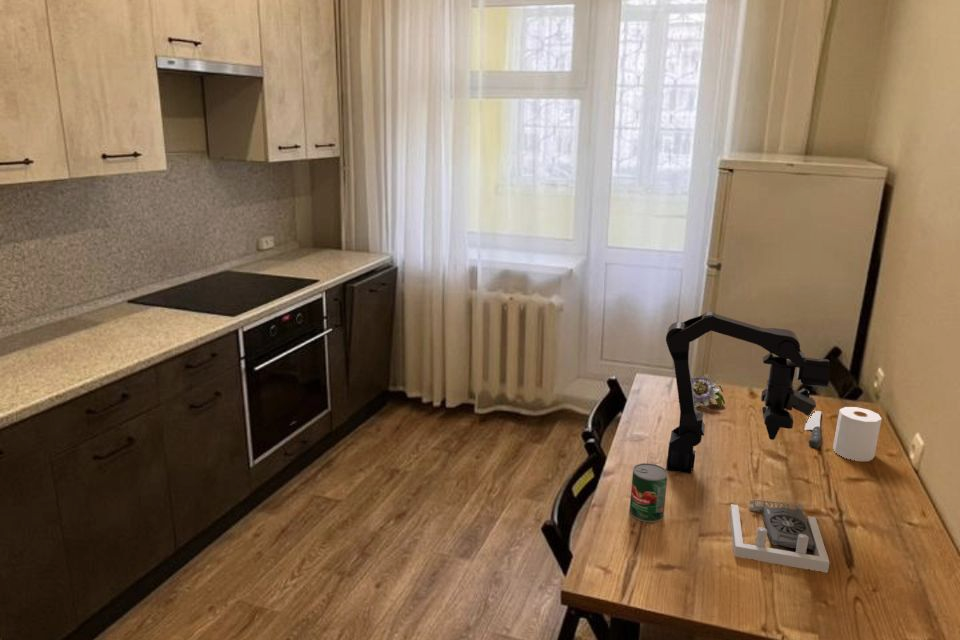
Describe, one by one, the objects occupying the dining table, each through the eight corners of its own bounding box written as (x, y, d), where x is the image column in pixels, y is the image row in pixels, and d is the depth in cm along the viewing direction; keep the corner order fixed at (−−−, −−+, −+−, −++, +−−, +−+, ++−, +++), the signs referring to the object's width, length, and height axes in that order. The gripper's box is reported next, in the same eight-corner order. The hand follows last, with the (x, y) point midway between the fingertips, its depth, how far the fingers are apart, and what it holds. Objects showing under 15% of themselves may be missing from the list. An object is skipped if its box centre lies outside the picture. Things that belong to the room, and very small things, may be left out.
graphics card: (749, 496, 165) (803, 502, 163) (747, 510, 166) (801, 516, 164) (759, 536, 150) (819, 543, 147) (757, 551, 151) (817, 558, 148)
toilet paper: (834, 457, 192) (841, 417, 188) (831, 442, 201) (838, 404, 198) (875, 465, 188) (883, 424, 185) (870, 449, 197) (878, 409, 194)
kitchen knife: (804, 407, 224) (821, 406, 222) (805, 415, 224) (822, 414, 222) (800, 441, 198) (820, 440, 196) (802, 450, 199) (821, 449, 196)
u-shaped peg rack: (734, 556, 147) (737, 531, 145) (729, 513, 163) (732, 490, 162) (827, 572, 142) (832, 547, 141) (813, 526, 158) (817, 503, 157)
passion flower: (695, 422, 226) (676, 392, 225) (702, 405, 235) (683, 376, 233) (726, 411, 219) (707, 380, 218) (732, 394, 228) (713, 364, 227)
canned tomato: (665, 508, 165) (669, 466, 162) (662, 525, 158) (666, 482, 155) (631, 501, 168) (635, 460, 164) (627, 518, 160) (630, 476, 157)
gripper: (821, 399, 160) (810, 460, 164) (811, 373, 177) (802, 429, 181) (769, 393, 163) (760, 453, 167) (765, 367, 180) (757, 422, 184)
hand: (771, 439), depth 175 cm, fingers closed
